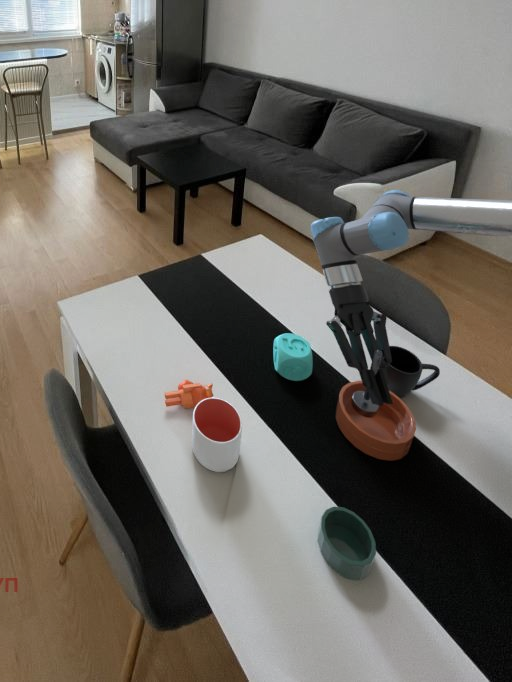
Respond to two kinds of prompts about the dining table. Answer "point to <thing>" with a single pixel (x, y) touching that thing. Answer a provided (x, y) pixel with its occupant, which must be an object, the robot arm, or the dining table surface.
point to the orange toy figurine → (188, 394)
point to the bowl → (376, 425)
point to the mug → (407, 372)
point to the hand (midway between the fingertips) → (382, 403)
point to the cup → (216, 434)
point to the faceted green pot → (346, 543)
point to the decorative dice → (292, 357)
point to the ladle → (362, 398)
